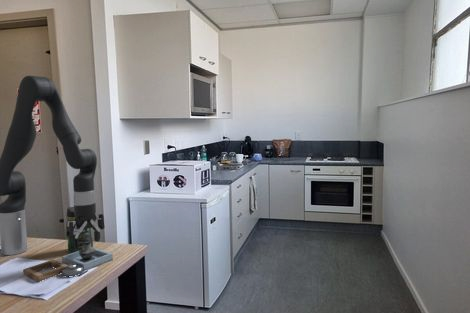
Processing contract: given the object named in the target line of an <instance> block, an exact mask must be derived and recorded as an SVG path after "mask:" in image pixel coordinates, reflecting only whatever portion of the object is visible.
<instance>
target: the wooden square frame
mask: <svg viewBox="0 0 470 313" xmlns="http://www.w3.org/2000/svg"><path fill="white" fill-rule="evenodd" d="M68 266H69V265H67V264H64V263H62V261H61V262H60V261H58V260H56V259H51V260H47V261H45V262H42V263H38V264H35V265H32V266H28V267H26V268H24V269H22V271H23V272H22V273H23V276H25V277H26V278H27V277H28V278H29V279H32V280H33V279H34V281H35V280H36V282H37V281H38V282H37V283H41V282H43V281H42V280H44V281H46V280H49V279H51V278H50V277H52V278H54V277H56V276H55V275H57V276H59V275H58V274H60V273H62V268H65V267H68ZM49 267H50V268H52V269H50V270H47V271H45V272H41V271H44V270H46V269H49ZM53 267H54V268H53ZM55 268H56V269H55ZM43 269H44V270H43ZM40 272H41V273H40ZM60 275H61V274H60ZM53 276H54V277H53ZM48 278H49V279H48ZM45 279H46V280H45ZM40 281H41V282H40Z"/></svg>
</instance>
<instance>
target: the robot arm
mask: <svg viewBox="0 0 470 313" xmlns="http://www.w3.org/2000/svg"><path fill="white" fill-rule="evenodd" d="M17 90H18V91H17V97H16V102H15V106H14V112H13V116H12V119H11V122H10V127H9V129H8V131H7V135H6V139H5V143H4V146H3V149H2V152H1V155H0V197H4V196H8V197H7V198H6V199H5V200H4V201H2V202H0V255H3V256H13V255H14V256H15V255H19V254H21V253H24V252H25V251H28V236H27V224H26V221H27V220H26V211H25V210H26V207H25V205H26V201H27V199H26V198H27V193H26V192H27V186H26V184H27V183H26V179H25V176H24V174H23V173H22V172H21V171H19V170H15V168H16V167H17V165H18V164H19V163H20V162H21V161H23V159H24V158H25V157H26V156H27V155H29V153H30V152H31V150H32V149H33V146H34V144H35V140H36V137H37V128H36V125H35V121H34V118H33V112H34V108H35V105H36V102H44V103H45V104H46V105H47V107H48V108H49V110H50V112H51V126H52V130H53V133H54V134H55V135H56V137H57V139H58V141H59V142H60V144H61V145H62V150H63V154H64V156H65V161H66V162H67V164H68V166H70V167H71V168H72V169H75V170H79V171H78V174H76V175H74V177H73V181H72V182H73V198H72V199H73V200H72V201H73V207H74V215H75V220H74V221H68V220H67V221H66V225H65V228H66V230H65V231H66V233H65V236H66V238H68V237H69V238H72V245H73V247H74V248H79V238H78V236H79V234H80V233H81V232H82V231H83V230H86V229H90V228H91V229H93V237H94V238H93V239H94V240H93V241H94V242H98V243H99V241H100V240H101V230H103V229H105V219H104V214H103V213H97V209H96V208H97V206H96V194H95V182H94V180H95V178H94V177H95V174H96V169H97V164H98V158H97V154H96V153H95V151H94V150H92V149H90V148H82V149H81V148H80V146H79V145H80V144H81V142H82V138H81V137H82V136H81V135H80V134H79V132H78V130H77V129H76V127H75V126H74V124H73V122H72V120H71V118H70V117H69V114H68V112H67V109H66V107H65V104H64V102H63V100H62V97H61V95H60V93H59V90H58V88H57V85H56V84H55V83H54V81H53V80H52V79H51V78H49V77H46V76H38V75H37V76H36V75H25V76H24V77H23V78H22V79H21V81H20V83H19V86H18V89H17ZM14 170H15V171H14ZM96 213H97V214H96ZM96 220H97V223H96ZM74 224H75V225H76V226H75V228H74V232H73V227H74ZM78 228H79V230H78Z"/></svg>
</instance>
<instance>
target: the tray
mask: <svg viewBox="0 0 470 313" xmlns="http://www.w3.org/2000/svg"><path fill="white" fill-rule="evenodd" d="M93 248H94V249H95V251H94V255H93V256H92V257H94V258H95V259H94V260H91V261H88V262H86V263H84V262H81V261H80V260H81V259H82V257H81V256H80V254H79V251H77V252H74V253H72V252H70V253H69V254H65V255H63V256H61V263H64V264H66V265H71V264H79V265H82V266H84V272H86V271H89V270H91V269H93V268H96V267H98V266H101V265H104V264H106V263H109V262H112V261H113V259H114V257H113V256H114V254H113V253H111V252H108V251H105V250H102V249H99V248H96V247H93ZM85 270H86V271H85Z"/></svg>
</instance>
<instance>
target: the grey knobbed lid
mask: <svg viewBox="0 0 470 313" xmlns="http://www.w3.org/2000/svg"><path fill="white" fill-rule="evenodd" d="M81 273H82V274H83V273H85V271H84V266H82V265H79V264H71V265H69V266H68V267H65V268H62V274H61V277H63V276H66V277H65V278H70V277H69V276H75V275H78V274H80V275H82V274H81ZM78 276H79V275H78ZM75 277H76V276H75Z"/></svg>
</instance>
